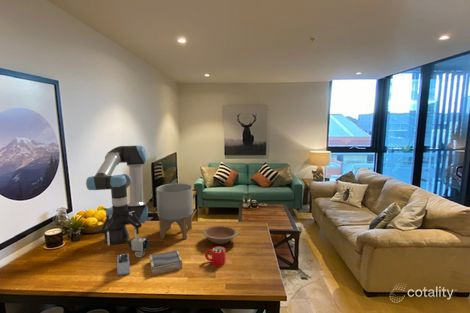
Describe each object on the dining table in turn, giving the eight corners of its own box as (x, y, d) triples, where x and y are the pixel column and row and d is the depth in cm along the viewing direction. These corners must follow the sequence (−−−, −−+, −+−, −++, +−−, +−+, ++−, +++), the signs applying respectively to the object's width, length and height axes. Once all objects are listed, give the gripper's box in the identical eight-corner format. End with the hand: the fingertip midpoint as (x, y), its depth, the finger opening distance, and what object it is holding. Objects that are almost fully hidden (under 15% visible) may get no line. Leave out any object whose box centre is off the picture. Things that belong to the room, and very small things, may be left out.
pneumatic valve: (146, 259, 155) (145, 240, 153) (129, 257, 157) (127, 238, 156) (151, 254, 160) (150, 236, 159) (134, 252, 163) (133, 234, 161)
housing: (118, 266, 147) (117, 255, 146) (129, 264, 150) (128, 253, 148) (117, 276, 138) (116, 264, 137) (130, 274, 140) (129, 261, 139)
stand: (149, 262, 152) (149, 254, 151) (177, 256, 158) (177, 248, 157) (152, 275, 139) (151, 266, 138) (182, 268, 145) (182, 260, 145)
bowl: (244, 243, 174) (244, 232, 173) (213, 254, 161) (213, 241, 160) (225, 231, 193) (225, 220, 192) (196, 239, 180) (196, 228, 179)
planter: (182, 223, 207) (180, 181, 202) (200, 233, 189) (199, 187, 184) (152, 232, 190) (150, 187, 185) (169, 244, 172) (167, 194, 167)
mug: (206, 258, 156) (206, 245, 155) (226, 258, 155) (226, 246, 154) (203, 265, 148) (203, 252, 147) (224, 266, 148) (224, 253, 146)
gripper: (92, 210, 130) (96, 249, 133) (145, 203, 140) (147, 240, 143) (94, 205, 137) (97, 243, 140) (144, 199, 146) (146, 234, 150)
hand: (122, 242), depth 141 cm, fingers open, 13 cm apart
